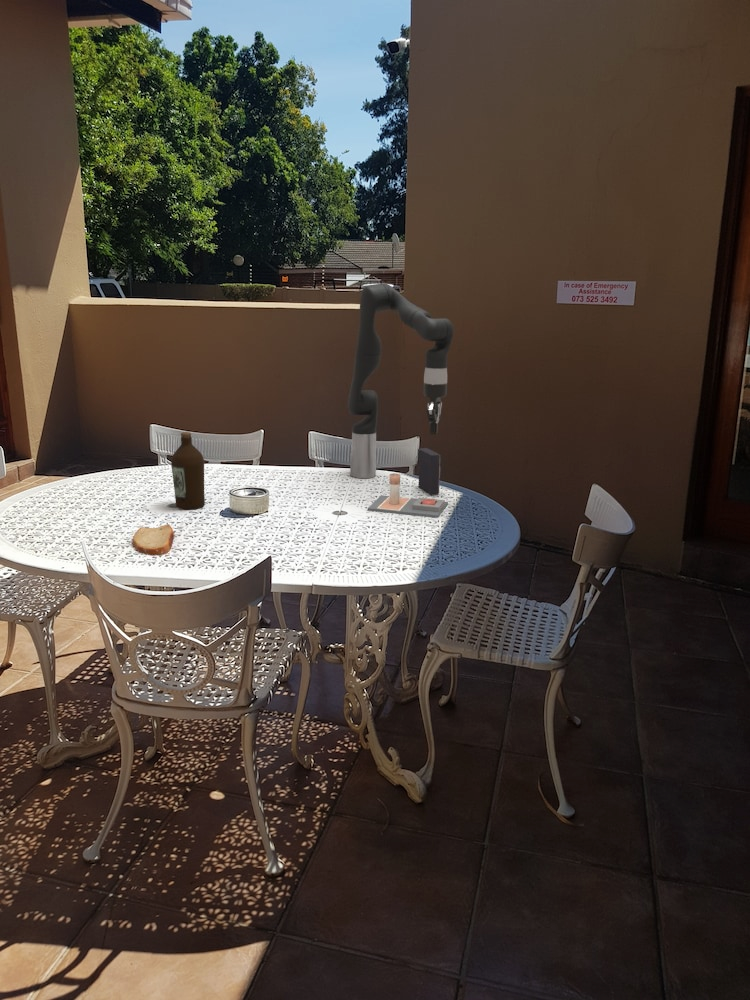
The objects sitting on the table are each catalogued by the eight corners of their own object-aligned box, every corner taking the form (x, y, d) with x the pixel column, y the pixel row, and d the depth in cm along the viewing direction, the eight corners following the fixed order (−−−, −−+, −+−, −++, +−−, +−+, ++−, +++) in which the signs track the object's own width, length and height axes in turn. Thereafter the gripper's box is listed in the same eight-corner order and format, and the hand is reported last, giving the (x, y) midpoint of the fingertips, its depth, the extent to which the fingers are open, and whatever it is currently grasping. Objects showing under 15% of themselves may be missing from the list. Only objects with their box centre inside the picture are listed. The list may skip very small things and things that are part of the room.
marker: (387, 504, 253) (388, 475, 250) (390, 501, 257) (391, 473, 254) (398, 505, 252) (398, 476, 249) (400, 502, 256) (401, 473, 253)
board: (367, 510, 249) (367, 503, 249) (381, 497, 264) (381, 490, 263) (437, 517, 243) (438, 510, 242) (448, 504, 257) (448, 497, 257)
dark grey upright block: (440, 494, 268) (442, 454, 263) (429, 496, 266) (431, 455, 262) (427, 487, 278) (428, 447, 273) (416, 488, 276) (417, 448, 272)
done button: (420, 508, 250) (420, 502, 249) (423, 504, 254) (423, 498, 253) (433, 509, 248) (433, 503, 248) (436, 505, 252) (436, 500, 252)
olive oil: (194, 499, 259) (190, 428, 252) (212, 505, 252) (208, 433, 245) (168, 505, 252) (162, 433, 244) (185, 512, 245) (180, 437, 237)
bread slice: (159, 558, 207) (158, 545, 206) (111, 547, 215) (110, 534, 214) (201, 539, 222) (201, 527, 221) (155, 529, 230) (155, 517, 229)
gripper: (428, 378, 250) (427, 429, 255) (419, 383, 238) (417, 437, 243) (451, 379, 248) (448, 431, 253) (442, 384, 236) (440, 438, 241)
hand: (433, 433), depth 248 cm, fingers closed
